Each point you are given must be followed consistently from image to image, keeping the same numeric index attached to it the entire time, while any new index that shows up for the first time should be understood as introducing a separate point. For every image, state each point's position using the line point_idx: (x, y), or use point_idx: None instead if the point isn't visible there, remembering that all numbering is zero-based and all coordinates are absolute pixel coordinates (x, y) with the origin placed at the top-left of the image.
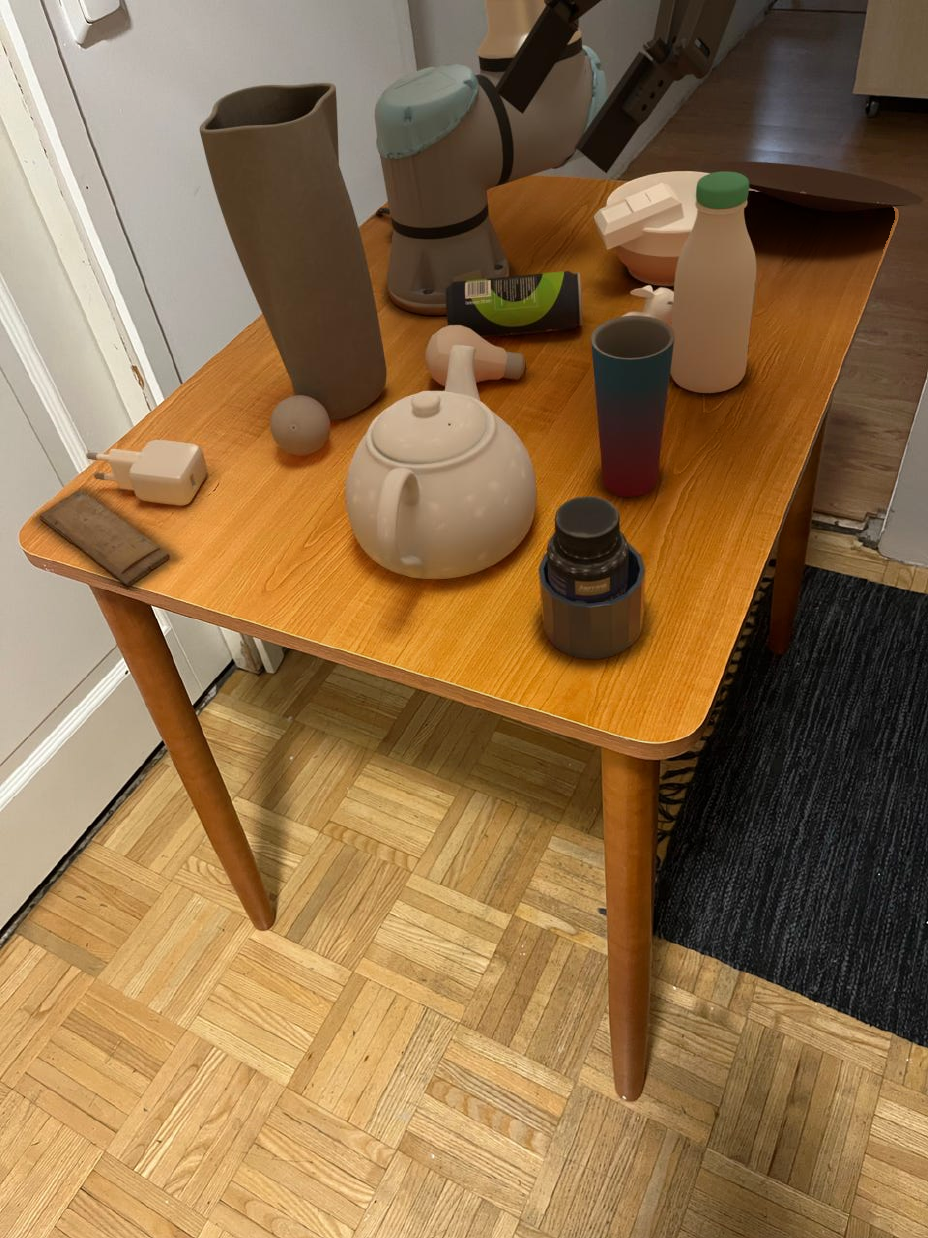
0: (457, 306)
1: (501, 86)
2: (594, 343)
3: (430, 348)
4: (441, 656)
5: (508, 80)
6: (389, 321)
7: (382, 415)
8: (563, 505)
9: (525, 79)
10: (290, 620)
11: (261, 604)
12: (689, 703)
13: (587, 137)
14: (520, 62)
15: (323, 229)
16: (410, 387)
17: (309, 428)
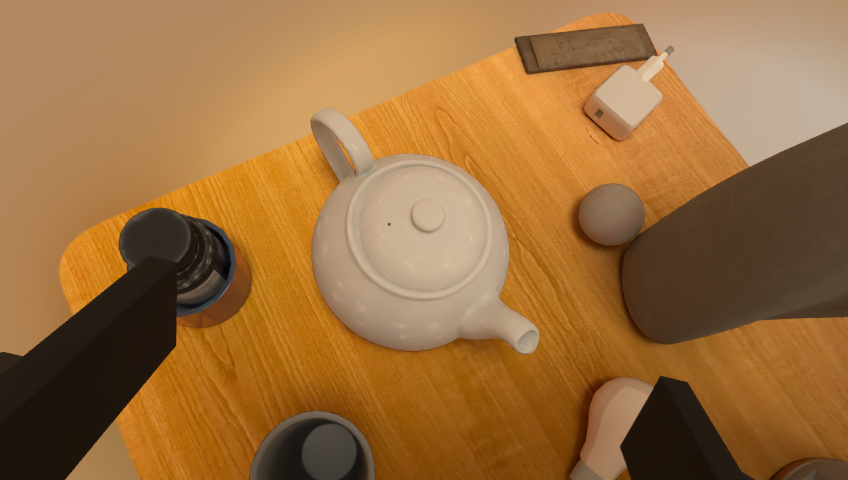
0: None
1: (666, 388)
2: (341, 421)
3: (642, 384)
4: (272, 168)
5: (671, 412)
6: (786, 429)
7: (465, 190)
8: (187, 232)
9: (663, 469)
10: (394, 106)
11: (426, 99)
12: (73, 282)
13: (134, 274)
14: (696, 462)
15: (761, 212)
16: (636, 366)
17: (588, 207)
